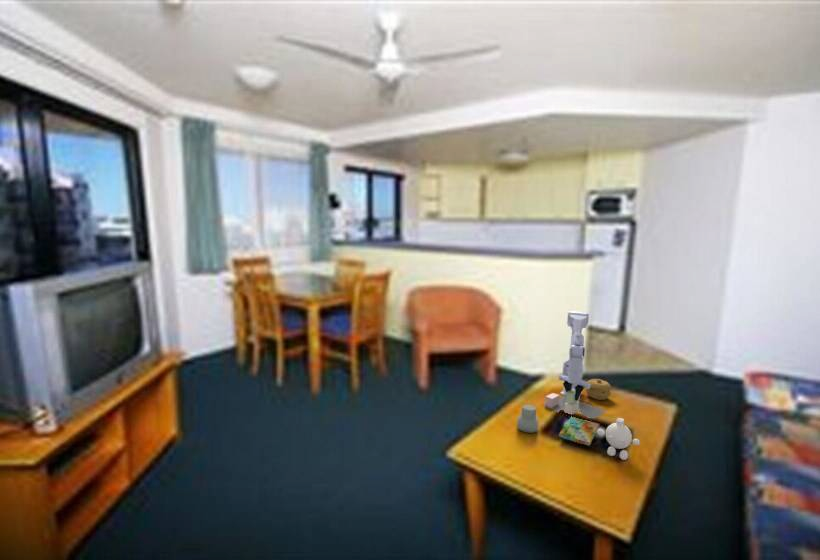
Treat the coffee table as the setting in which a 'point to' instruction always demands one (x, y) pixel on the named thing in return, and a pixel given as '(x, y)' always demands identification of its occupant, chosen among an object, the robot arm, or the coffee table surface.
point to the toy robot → (618, 438)
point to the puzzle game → (579, 431)
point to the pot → (598, 389)
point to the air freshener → (528, 419)
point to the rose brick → (552, 400)
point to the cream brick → (571, 408)
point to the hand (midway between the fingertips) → (572, 398)
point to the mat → (584, 408)
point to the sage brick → (571, 397)
